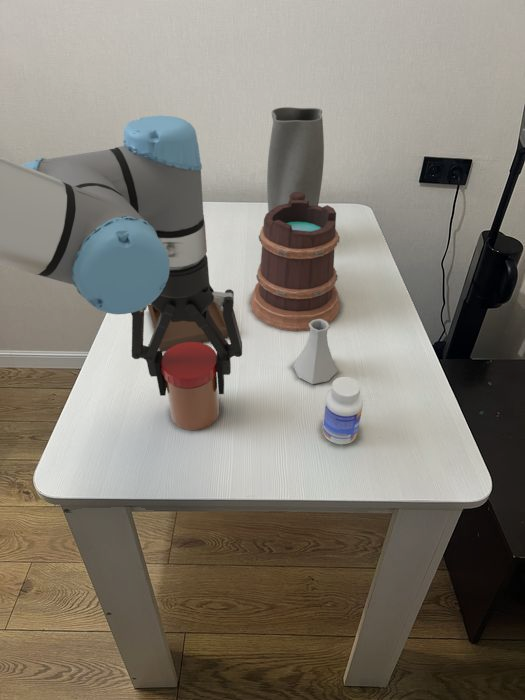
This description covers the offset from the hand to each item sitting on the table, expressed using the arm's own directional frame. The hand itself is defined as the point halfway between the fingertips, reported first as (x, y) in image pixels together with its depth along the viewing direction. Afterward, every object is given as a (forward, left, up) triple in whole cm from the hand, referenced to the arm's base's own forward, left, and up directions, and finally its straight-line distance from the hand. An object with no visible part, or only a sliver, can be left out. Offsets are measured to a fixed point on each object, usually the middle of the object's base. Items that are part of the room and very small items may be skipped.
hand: (192, 388), depth 74 cm
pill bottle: (+20, -11, -5) cm, 23 cm away
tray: (+4, +23, -5) cm, 24 cm away
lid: (0, 0, +6) cm, 6 cm away
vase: (+35, +47, -5) cm, 59 cm away
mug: (+27, +25, -5) cm, 37 cm away
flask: (+22, +3, -5) cm, 23 cm away
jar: (0, 0, -5) cm, 5 cm away
